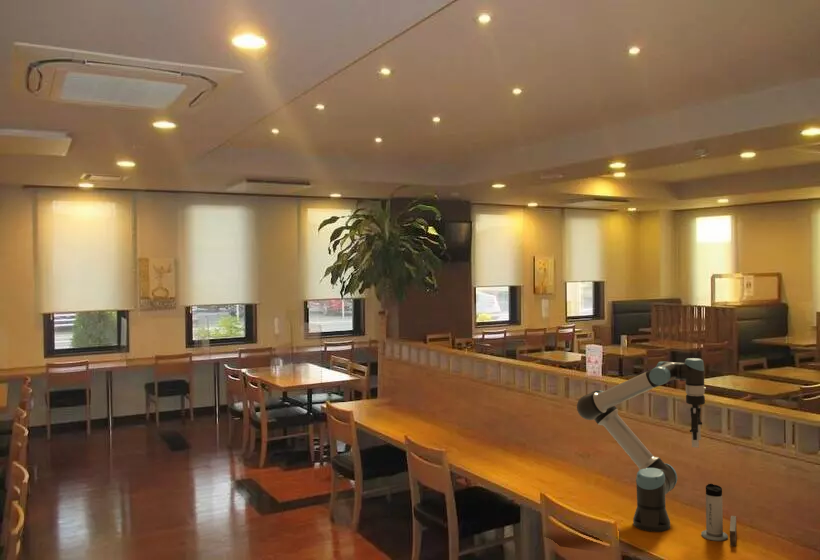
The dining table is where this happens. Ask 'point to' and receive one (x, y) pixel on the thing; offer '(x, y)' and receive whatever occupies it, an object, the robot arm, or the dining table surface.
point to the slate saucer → (714, 537)
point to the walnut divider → (733, 531)
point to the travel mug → (714, 511)
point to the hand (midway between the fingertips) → (696, 443)
